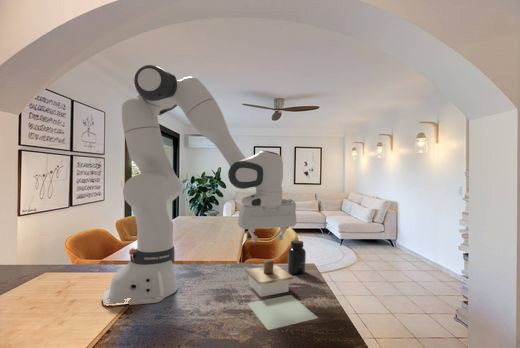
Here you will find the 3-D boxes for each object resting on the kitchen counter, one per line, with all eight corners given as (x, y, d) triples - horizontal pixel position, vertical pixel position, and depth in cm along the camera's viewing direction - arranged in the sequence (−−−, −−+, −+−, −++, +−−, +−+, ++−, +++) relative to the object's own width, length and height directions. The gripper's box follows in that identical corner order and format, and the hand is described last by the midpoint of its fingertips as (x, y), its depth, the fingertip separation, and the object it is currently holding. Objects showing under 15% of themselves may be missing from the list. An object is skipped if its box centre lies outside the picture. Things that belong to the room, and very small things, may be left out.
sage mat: (268, 331, 71) (268, 330, 71) (246, 304, 84) (246, 303, 84) (318, 319, 76) (318, 317, 76) (290, 296, 90) (290, 294, 90)
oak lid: (259, 284, 87) (259, 269, 87) (245, 271, 98) (245, 257, 98) (292, 279, 92) (293, 264, 92) (276, 267, 103) (276, 254, 103)
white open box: (260, 298, 89) (260, 283, 89) (248, 286, 98) (249, 272, 98) (288, 293, 93) (288, 278, 93) (274, 282, 102) (274, 268, 102)
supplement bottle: (305, 276, 107) (305, 244, 107) (287, 274, 109) (287, 243, 108) (305, 269, 114) (306, 240, 114) (288, 268, 115) (289, 239, 115)
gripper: (291, 198, 102) (289, 236, 102) (237, 198, 94) (235, 240, 94) (300, 200, 96) (299, 240, 96) (243, 201, 88) (242, 245, 88)
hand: (267, 240), depth 95 cm, fingers open, 8 cm apart
